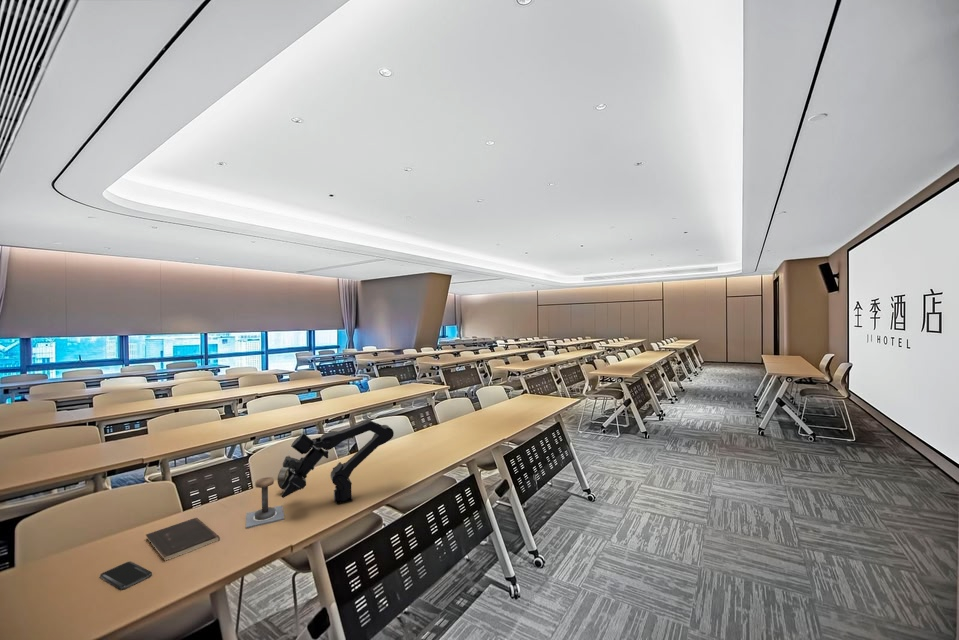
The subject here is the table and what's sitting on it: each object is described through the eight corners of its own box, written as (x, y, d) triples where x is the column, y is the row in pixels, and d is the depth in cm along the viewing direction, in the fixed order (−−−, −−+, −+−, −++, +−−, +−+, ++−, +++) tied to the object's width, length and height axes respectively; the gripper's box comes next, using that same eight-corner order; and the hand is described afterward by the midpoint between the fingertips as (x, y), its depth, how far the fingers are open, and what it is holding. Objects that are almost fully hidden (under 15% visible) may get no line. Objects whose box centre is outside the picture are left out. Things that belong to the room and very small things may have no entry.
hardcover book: (164, 563, 129) (164, 556, 129) (146, 540, 144) (145, 534, 144) (219, 541, 142) (219, 535, 142) (198, 522, 156) (197, 516, 156)
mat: (282, 506, 167) (282, 505, 167) (284, 519, 156) (284, 517, 156) (246, 514, 161) (246, 512, 161) (245, 528, 149) (245, 526, 149)
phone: (121, 588, 115) (98, 574, 122) (121, 592, 115) (98, 578, 122) (153, 572, 122) (130, 560, 129) (154, 576, 122) (130, 563, 129)
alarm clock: (285, 496, 177) (285, 460, 177) (275, 495, 178) (274, 459, 179) (301, 486, 188) (300, 452, 188) (291, 485, 189) (290, 451, 189)
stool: (278, 510, 162) (277, 476, 162) (270, 519, 155) (270, 483, 155) (259, 511, 161) (259, 477, 161) (251, 520, 154) (250, 484, 154)
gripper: (293, 443, 172) (265, 474, 167) (296, 455, 155) (264, 490, 150) (314, 458, 176) (287, 488, 170) (318, 471, 159) (288, 506, 154)
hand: (281, 492), depth 161 cm, fingers open, 9 cm apart
